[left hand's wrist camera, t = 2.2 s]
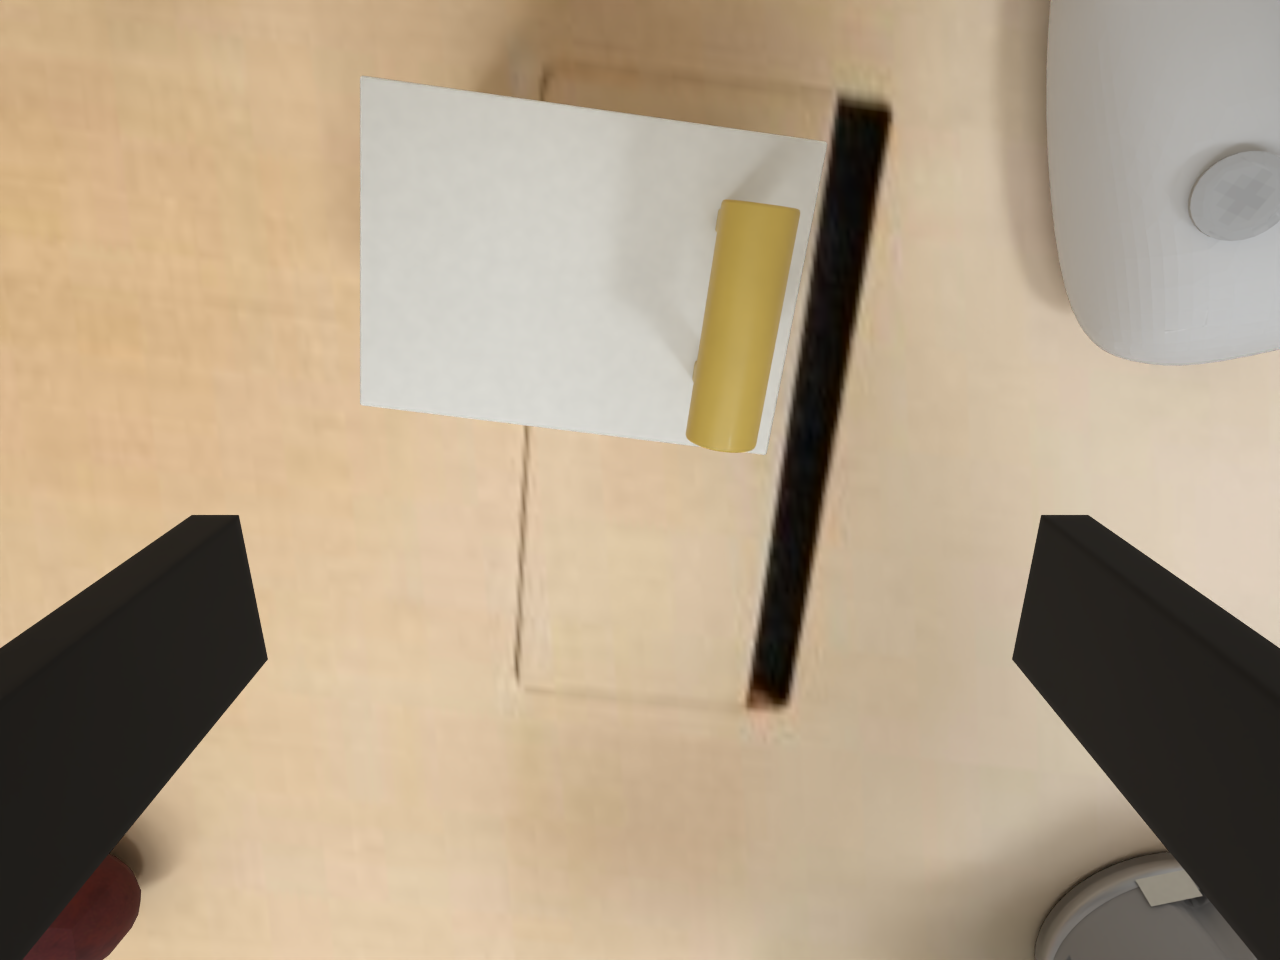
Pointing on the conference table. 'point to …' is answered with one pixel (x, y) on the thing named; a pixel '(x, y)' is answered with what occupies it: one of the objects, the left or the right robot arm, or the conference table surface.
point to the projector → (1167, 174)
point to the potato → (93, 916)
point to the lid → (578, 265)
